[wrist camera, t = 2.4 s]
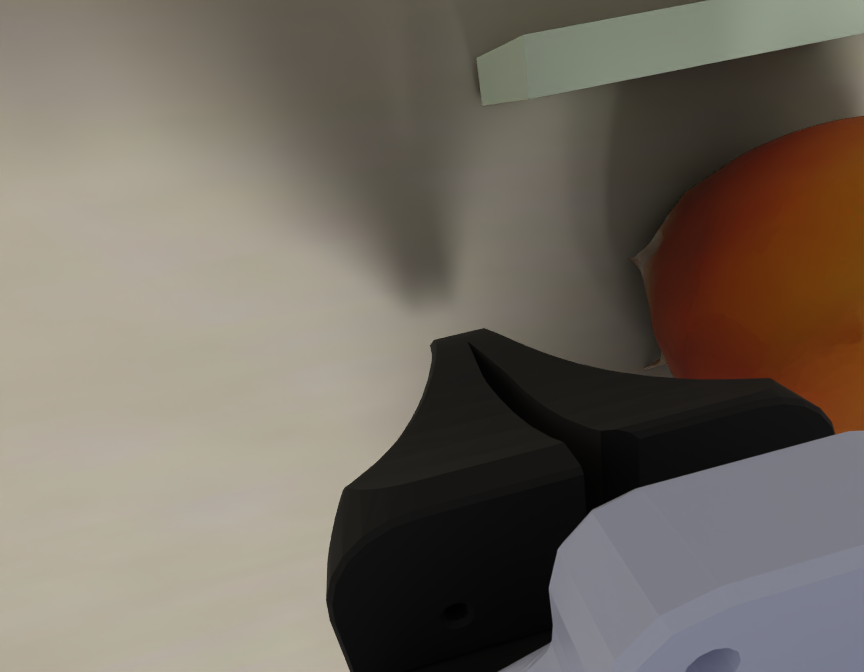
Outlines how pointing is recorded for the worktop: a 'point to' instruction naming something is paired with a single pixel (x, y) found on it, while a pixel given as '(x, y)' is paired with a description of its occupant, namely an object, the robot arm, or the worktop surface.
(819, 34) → the gate
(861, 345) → the fruit
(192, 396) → the worktop surface
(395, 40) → the worktop surface
